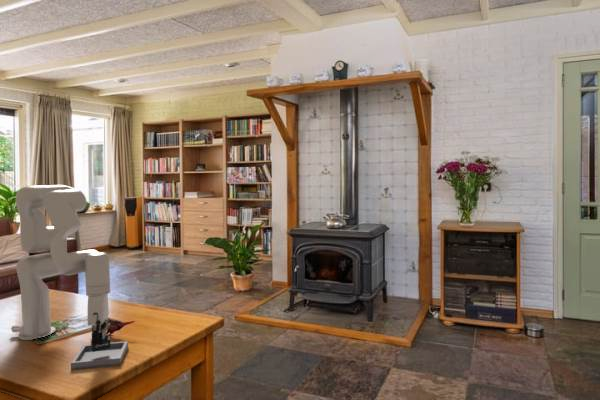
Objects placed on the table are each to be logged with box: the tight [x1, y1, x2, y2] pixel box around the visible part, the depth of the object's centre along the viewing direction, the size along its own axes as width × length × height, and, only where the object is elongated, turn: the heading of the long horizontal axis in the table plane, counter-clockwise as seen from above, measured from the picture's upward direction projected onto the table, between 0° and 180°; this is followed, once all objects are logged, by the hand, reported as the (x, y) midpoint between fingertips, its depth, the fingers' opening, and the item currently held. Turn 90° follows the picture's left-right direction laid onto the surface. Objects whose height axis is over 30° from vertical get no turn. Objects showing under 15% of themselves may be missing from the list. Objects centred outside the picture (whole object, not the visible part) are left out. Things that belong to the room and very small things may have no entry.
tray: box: [70, 341, 129, 371], centre depth 149 cm, size 15×15×2 cm
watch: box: [90, 319, 111, 352], centre depth 149 cm, size 6×8×11 cm
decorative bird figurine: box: [105, 317, 136, 338], centre depth 168 cm, size 3×18×10 cm, turn 88°
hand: (100, 339), depth 149 cm, fingers closed on watch, 8 cm apart
